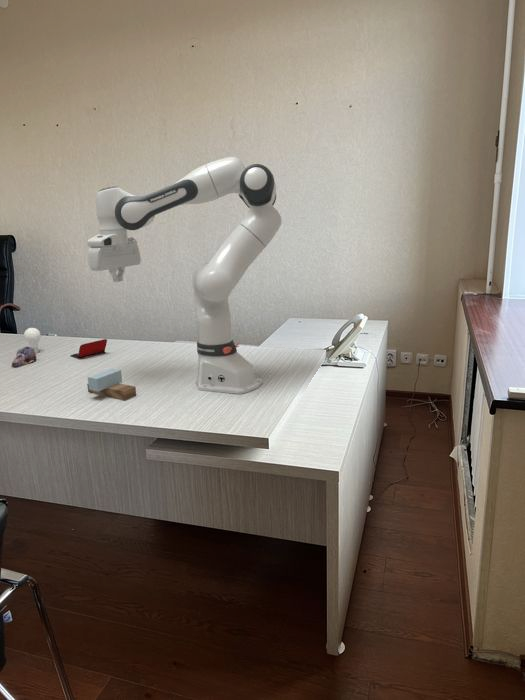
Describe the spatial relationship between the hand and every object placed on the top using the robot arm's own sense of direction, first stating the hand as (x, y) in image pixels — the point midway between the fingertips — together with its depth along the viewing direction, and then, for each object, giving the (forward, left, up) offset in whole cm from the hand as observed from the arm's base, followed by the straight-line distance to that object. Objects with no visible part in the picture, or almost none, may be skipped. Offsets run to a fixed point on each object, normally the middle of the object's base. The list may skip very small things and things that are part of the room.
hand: (118, 281), depth 177 cm
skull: (+49, +7, -34) cm, 60 cm away
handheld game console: (+34, -13, -34) cm, 50 cm away
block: (-7, +22, -28) cm, 36 cm away
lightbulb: (+58, -5, -34) cm, 67 cm away
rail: (-9, +16, -33) cm, 38 cm away
